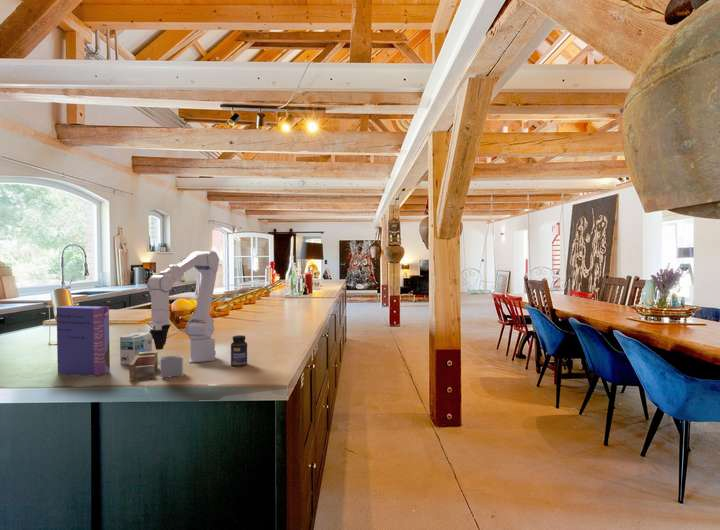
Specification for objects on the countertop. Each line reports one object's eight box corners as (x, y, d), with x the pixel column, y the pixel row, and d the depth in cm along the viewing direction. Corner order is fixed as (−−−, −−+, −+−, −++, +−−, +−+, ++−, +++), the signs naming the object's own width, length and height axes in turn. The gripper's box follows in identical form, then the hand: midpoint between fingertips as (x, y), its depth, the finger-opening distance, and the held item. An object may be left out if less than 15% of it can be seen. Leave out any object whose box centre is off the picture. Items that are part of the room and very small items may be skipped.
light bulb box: (135, 365, 157) (134, 337, 157) (119, 364, 158) (119, 337, 158) (153, 358, 168) (152, 332, 168) (138, 357, 169) (137, 331, 168)
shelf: (157, 367, 153) (157, 350, 153) (153, 378, 139) (153, 359, 139) (136, 369, 150) (135, 352, 150) (129, 381, 137) (129, 361, 136)
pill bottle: (232, 367, 152) (232, 338, 152) (229, 364, 158) (229, 335, 158) (249, 365, 155) (248, 337, 155) (245, 362, 161) (245, 334, 160)
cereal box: (109, 372, 147) (108, 306, 147) (98, 376, 143) (97, 307, 142) (69, 369, 151) (68, 305, 150) (57, 373, 146) (56, 306, 146)
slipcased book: (183, 373, 146) (183, 355, 146) (183, 376, 142) (182, 357, 142) (161, 375, 143) (161, 357, 143) (160, 378, 140) (160, 359, 139)
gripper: (150, 307, 150) (150, 343, 150) (144, 312, 136) (145, 352, 137) (171, 306, 152) (171, 342, 153) (167, 310, 139) (168, 350, 139)
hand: (160, 347), depth 145 cm, fingers open, 7 cm apart
